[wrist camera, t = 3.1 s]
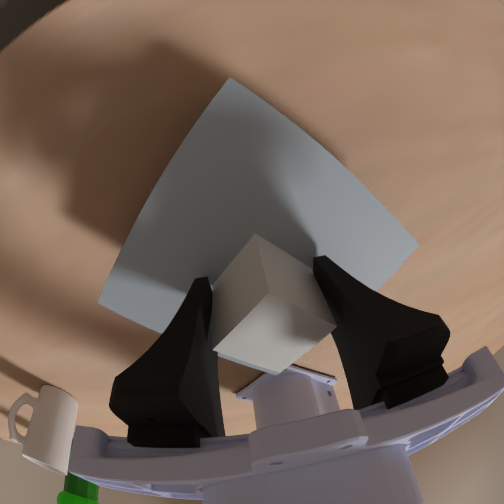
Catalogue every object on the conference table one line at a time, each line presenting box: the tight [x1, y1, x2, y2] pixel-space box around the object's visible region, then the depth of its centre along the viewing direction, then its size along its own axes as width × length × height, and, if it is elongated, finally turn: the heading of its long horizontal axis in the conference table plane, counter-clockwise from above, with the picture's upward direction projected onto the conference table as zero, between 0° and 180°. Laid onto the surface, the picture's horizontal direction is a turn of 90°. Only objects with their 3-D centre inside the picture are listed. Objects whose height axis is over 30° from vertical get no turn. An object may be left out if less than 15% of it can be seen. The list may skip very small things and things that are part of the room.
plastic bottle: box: [57, 446, 99, 504], centre depth 32 cm, size 10×10×25 cm
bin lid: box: [98, 77, 420, 375], centre depth 12 cm, size 13×13×5 cm
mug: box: [8, 385, 78, 475], centre depth 23 cm, size 10×7×12 cm, turn 32°
